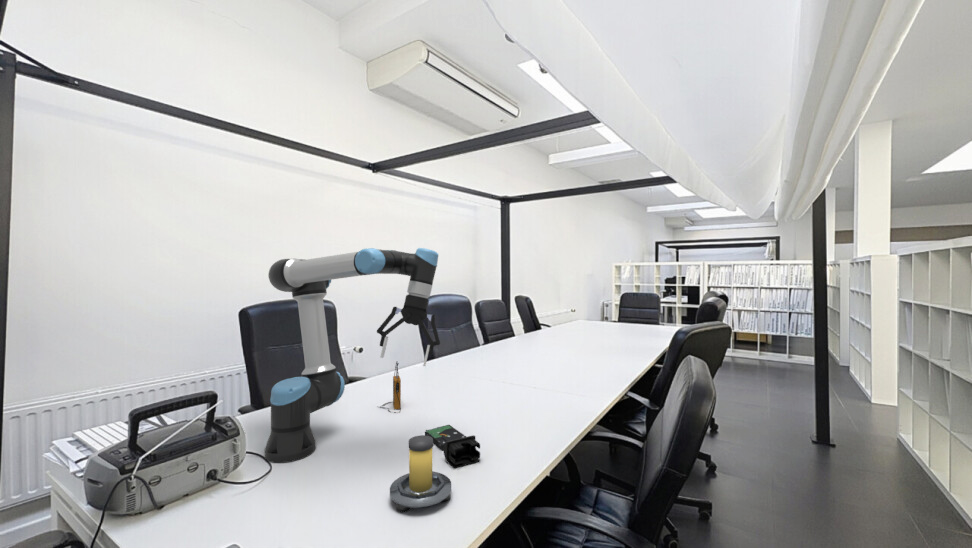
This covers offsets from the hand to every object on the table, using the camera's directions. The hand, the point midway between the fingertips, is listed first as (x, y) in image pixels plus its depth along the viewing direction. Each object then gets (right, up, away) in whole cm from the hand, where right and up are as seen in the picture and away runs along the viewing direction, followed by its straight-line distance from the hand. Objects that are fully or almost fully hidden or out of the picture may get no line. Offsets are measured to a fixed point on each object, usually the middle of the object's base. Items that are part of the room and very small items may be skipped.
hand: (403, 361), depth 125 cm
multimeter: (-17, -31, +48) cm, 60 cm away
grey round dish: (+9, -31, -21) cm, 39 cm away
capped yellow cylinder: (+9, -28, -21) cm, 36 cm away
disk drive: (+12, -32, +15) cm, 37 cm away
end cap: (+19, -31, -1) cm, 37 cm away
